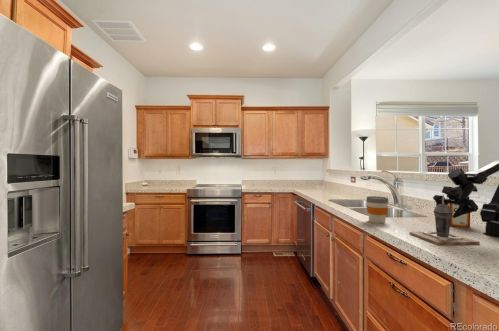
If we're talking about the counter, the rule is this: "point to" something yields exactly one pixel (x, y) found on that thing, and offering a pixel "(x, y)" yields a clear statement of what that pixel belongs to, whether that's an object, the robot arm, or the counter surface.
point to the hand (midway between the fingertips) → (444, 215)
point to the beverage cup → (443, 219)
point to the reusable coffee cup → (377, 208)
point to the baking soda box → (461, 220)
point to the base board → (451, 240)
